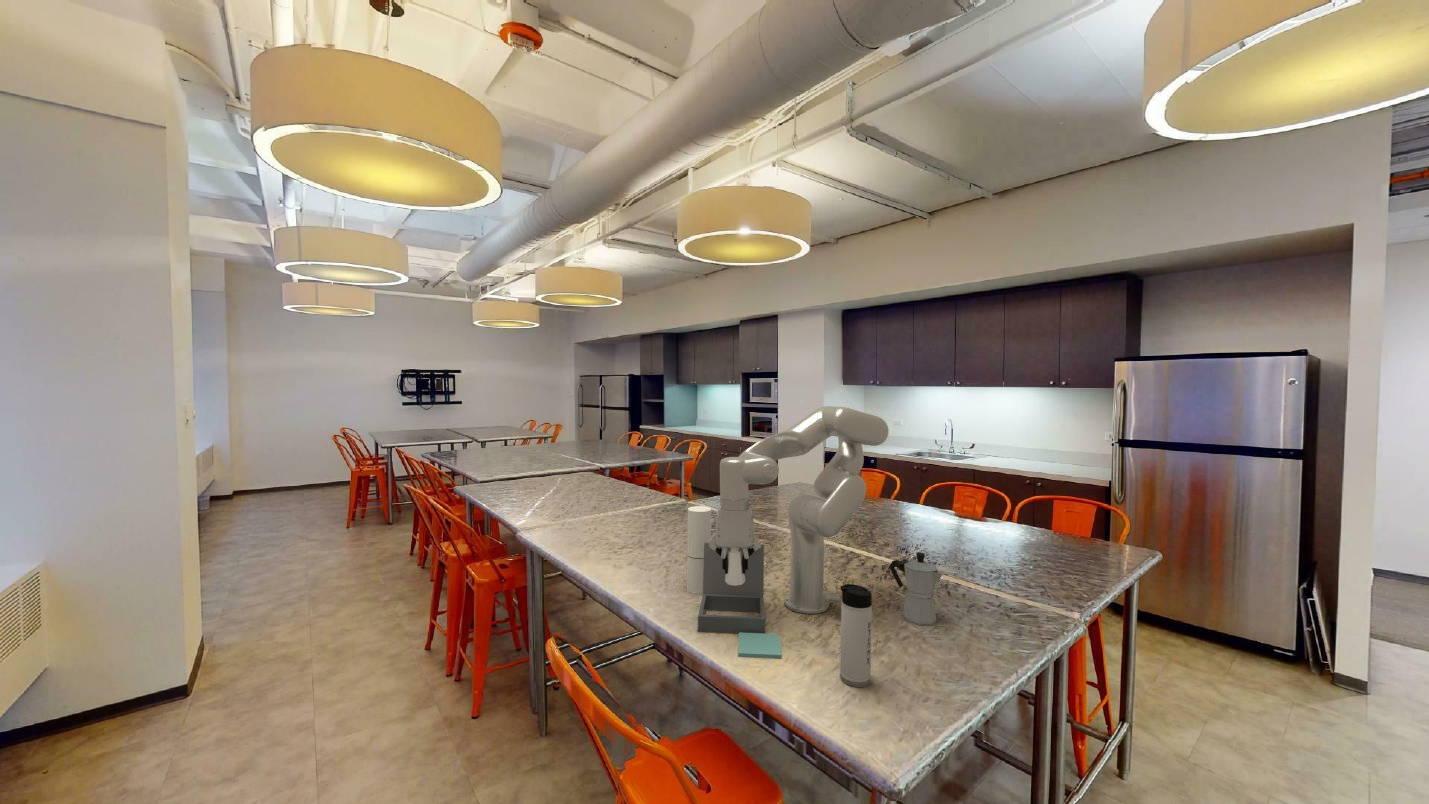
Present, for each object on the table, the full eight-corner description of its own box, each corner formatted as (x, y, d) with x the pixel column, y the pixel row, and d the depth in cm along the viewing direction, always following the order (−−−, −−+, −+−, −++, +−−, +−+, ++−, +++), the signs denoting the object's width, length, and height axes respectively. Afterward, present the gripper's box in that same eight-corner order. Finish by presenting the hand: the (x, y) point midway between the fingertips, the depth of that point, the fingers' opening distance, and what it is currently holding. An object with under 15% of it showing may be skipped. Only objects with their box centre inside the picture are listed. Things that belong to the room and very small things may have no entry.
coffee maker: (948, 620, 137) (950, 554, 137) (937, 631, 131) (938, 562, 130) (895, 604, 147) (896, 542, 147) (881, 613, 141) (883, 549, 140)
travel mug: (834, 671, 111) (836, 581, 111) (863, 670, 112) (865, 581, 112) (844, 688, 105) (846, 593, 105) (875, 687, 106) (877, 592, 105)
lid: (763, 596, 142) (763, 595, 143) (763, 544, 144) (763, 544, 145) (702, 594, 143) (703, 592, 144) (704, 542, 145) (704, 542, 146)
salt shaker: (720, 582, 136) (720, 541, 135) (734, 576, 139) (734, 536, 139) (735, 587, 132) (735, 545, 131) (749, 581, 135) (749, 541, 135)
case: (763, 610, 142) (763, 596, 142) (764, 634, 128) (765, 619, 128) (702, 608, 143) (702, 594, 143) (697, 631, 129) (697, 616, 129)
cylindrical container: (711, 585, 159) (712, 506, 159) (708, 594, 152) (709, 512, 152) (688, 584, 160) (689, 505, 159) (685, 593, 153) (686, 511, 152)
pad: (779, 637, 127) (779, 634, 127) (781, 658, 117) (781, 655, 117) (738, 635, 127) (739, 632, 127) (738, 656, 117) (738, 653, 117)
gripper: (765, 500, 138) (766, 567, 139) (704, 500, 139) (705, 566, 140) (766, 507, 130) (767, 577, 131) (701, 507, 131) (702, 577, 132)
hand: (735, 571), depth 135 cm, fingers closed on salt shaker, 4 cm apart
